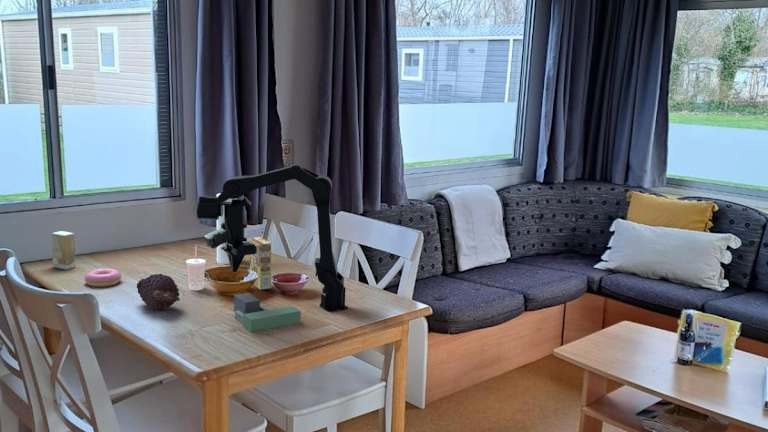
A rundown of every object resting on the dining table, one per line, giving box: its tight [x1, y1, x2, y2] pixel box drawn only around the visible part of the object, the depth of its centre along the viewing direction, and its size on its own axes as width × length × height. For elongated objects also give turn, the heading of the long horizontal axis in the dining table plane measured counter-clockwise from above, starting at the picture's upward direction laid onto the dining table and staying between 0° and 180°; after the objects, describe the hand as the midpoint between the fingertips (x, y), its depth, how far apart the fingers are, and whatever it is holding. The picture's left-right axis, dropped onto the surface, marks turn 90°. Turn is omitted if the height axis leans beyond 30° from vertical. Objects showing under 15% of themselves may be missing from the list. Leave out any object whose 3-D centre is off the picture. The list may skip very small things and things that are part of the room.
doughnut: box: [84, 268, 122, 288], centre depth 217 cm, size 11×11×4 cm
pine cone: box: [136, 273, 181, 310], centre depth 195 cm, size 18×10×10 cm, turn 53°
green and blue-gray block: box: [234, 305, 302, 333], centre depth 189 cm, size 15×12×4 cm
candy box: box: [249, 237, 272, 291], centre depth 220 cm, size 9×4×15 cm, turn 33°
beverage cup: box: [185, 245, 207, 291], centre depth 214 cm, size 6×6×14 cm
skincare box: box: [51, 230, 76, 270], centre depth 231 cm, size 6×4×12 cm
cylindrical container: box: [215, 192, 238, 265], centre depth 246 cm, size 7×7×25 cm
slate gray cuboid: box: [233, 292, 261, 314], centre depth 194 cm, size 4×8×5 cm, turn 36°
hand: (234, 271), depth 199 cm, fingers closed
